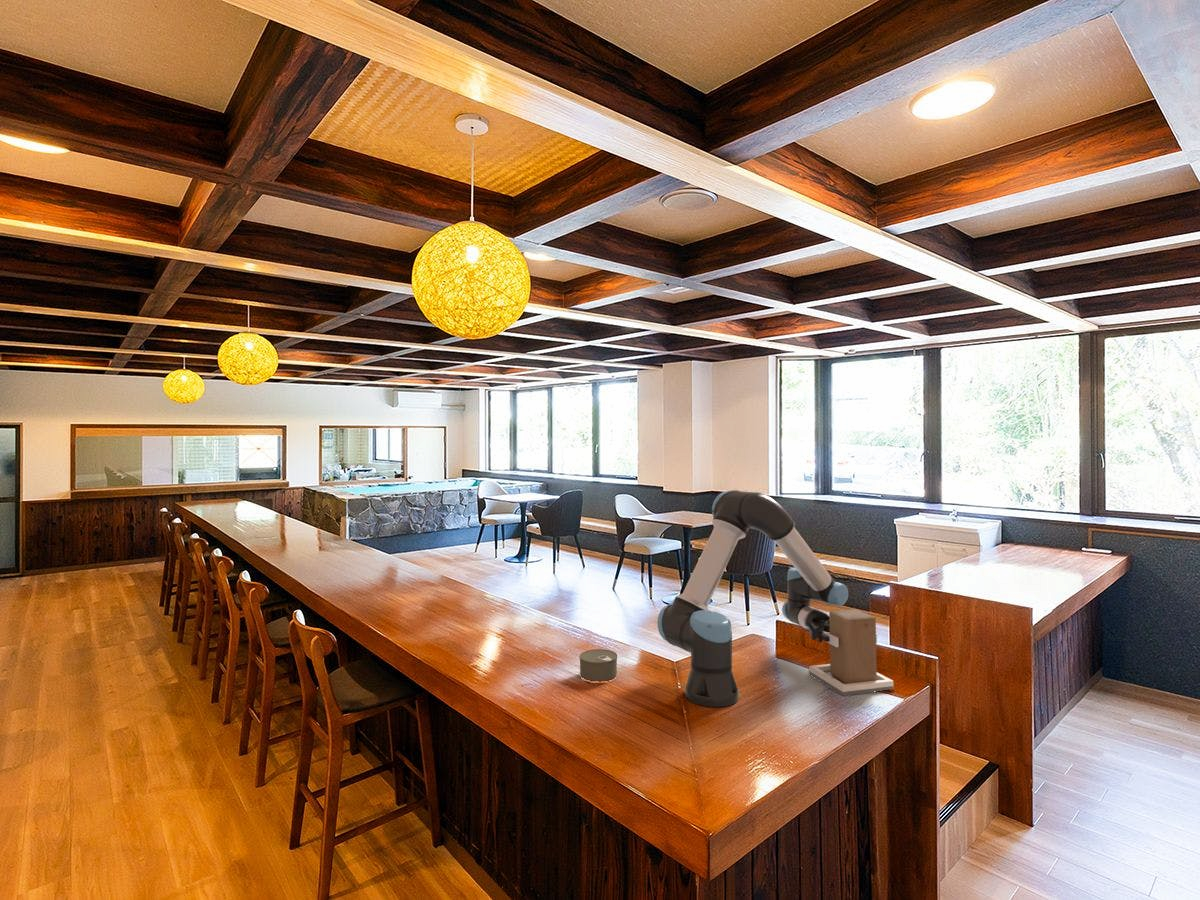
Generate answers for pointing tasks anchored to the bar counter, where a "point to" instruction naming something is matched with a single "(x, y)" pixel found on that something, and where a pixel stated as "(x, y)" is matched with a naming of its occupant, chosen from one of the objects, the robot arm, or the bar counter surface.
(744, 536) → the robot arm
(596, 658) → the can
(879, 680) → the locating plate
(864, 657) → the wooden block
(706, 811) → the bar counter surface
